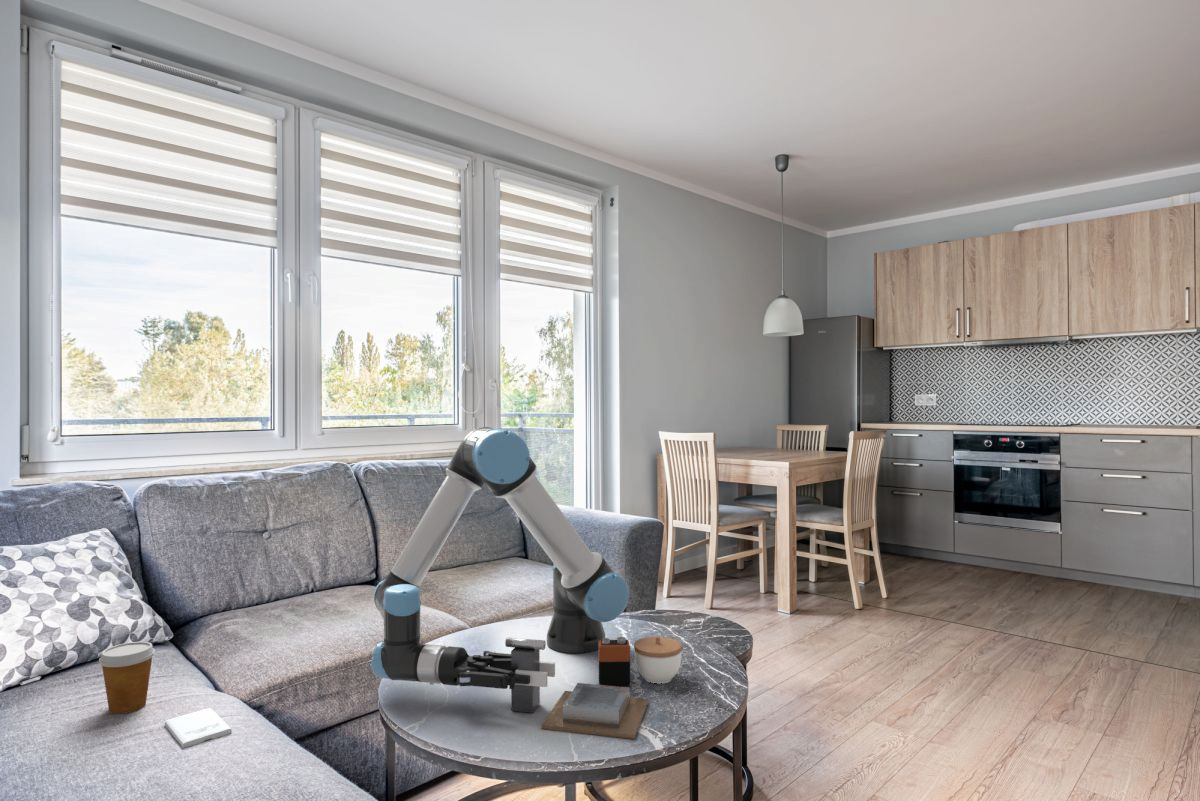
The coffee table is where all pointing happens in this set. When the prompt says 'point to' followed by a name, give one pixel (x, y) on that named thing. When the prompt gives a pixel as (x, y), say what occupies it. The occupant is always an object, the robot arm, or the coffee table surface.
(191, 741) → the external hard drive
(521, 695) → the chuck key
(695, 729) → the coffee table surface
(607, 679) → the battery
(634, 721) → the chuck block
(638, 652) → the lidded jar
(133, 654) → the disposable coffee cup
